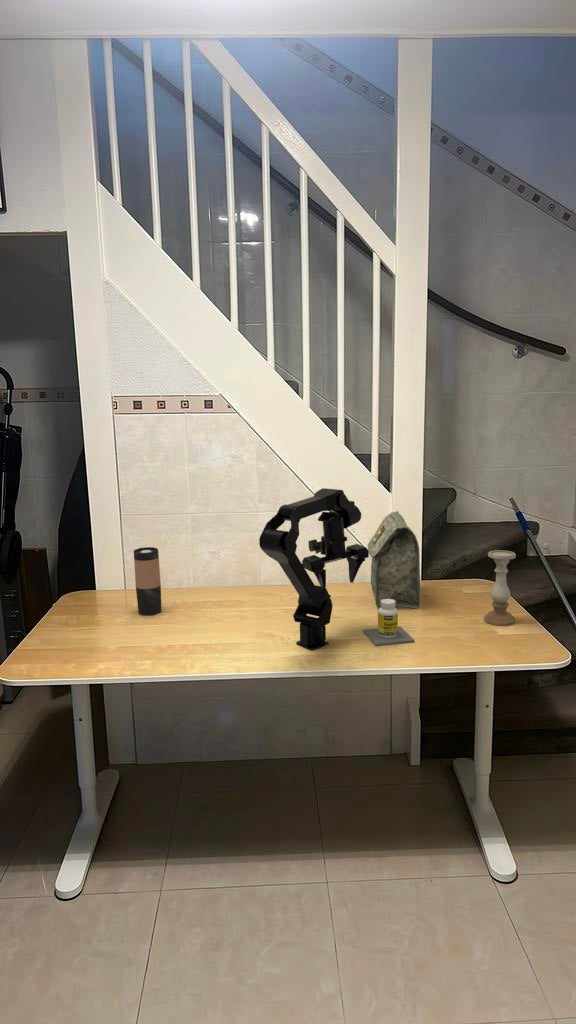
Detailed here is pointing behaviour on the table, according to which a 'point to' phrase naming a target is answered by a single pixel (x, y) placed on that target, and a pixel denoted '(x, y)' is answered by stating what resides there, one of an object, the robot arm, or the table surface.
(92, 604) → the table surface
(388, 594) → the bag
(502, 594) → the candle holder
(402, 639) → the mat
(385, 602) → the supplement bottle
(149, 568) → the travel mug
